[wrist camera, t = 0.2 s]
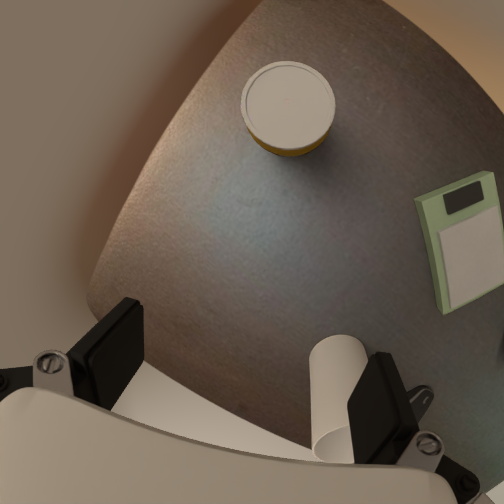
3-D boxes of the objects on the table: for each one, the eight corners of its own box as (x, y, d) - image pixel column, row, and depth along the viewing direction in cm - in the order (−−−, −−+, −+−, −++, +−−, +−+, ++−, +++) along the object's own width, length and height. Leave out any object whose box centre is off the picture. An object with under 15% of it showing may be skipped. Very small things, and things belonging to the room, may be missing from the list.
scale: (413, 198, 32) (424, 202, 29) (482, 170, 29) (496, 172, 26) (436, 306, 36) (445, 318, 32) (498, 275, 33) (510, 283, 30)
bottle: (285, 86, 30) (280, 36, 16) (332, 125, 31) (363, 102, 16) (245, 129, 32) (212, 110, 18) (292, 169, 33) (294, 177, 19)
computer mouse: (438, 393, 40) (445, 408, 36) (388, 432, 44) (391, 447, 40) (418, 379, 40) (425, 395, 36) (365, 421, 44) (368, 438, 40)
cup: (298, 350, 40) (297, 441, 25) (351, 324, 38) (375, 411, 23) (324, 385, 42) (330, 471, 27) (373, 363, 39) (397, 446, 24)
